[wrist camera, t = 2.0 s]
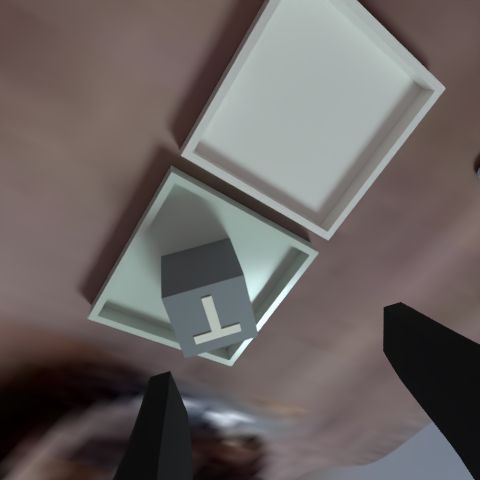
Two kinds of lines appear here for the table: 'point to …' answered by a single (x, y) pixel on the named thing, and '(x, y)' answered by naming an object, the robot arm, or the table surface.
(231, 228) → the tray
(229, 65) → the tray
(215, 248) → the letter cube
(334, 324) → the table surface
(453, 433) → the robot arm
